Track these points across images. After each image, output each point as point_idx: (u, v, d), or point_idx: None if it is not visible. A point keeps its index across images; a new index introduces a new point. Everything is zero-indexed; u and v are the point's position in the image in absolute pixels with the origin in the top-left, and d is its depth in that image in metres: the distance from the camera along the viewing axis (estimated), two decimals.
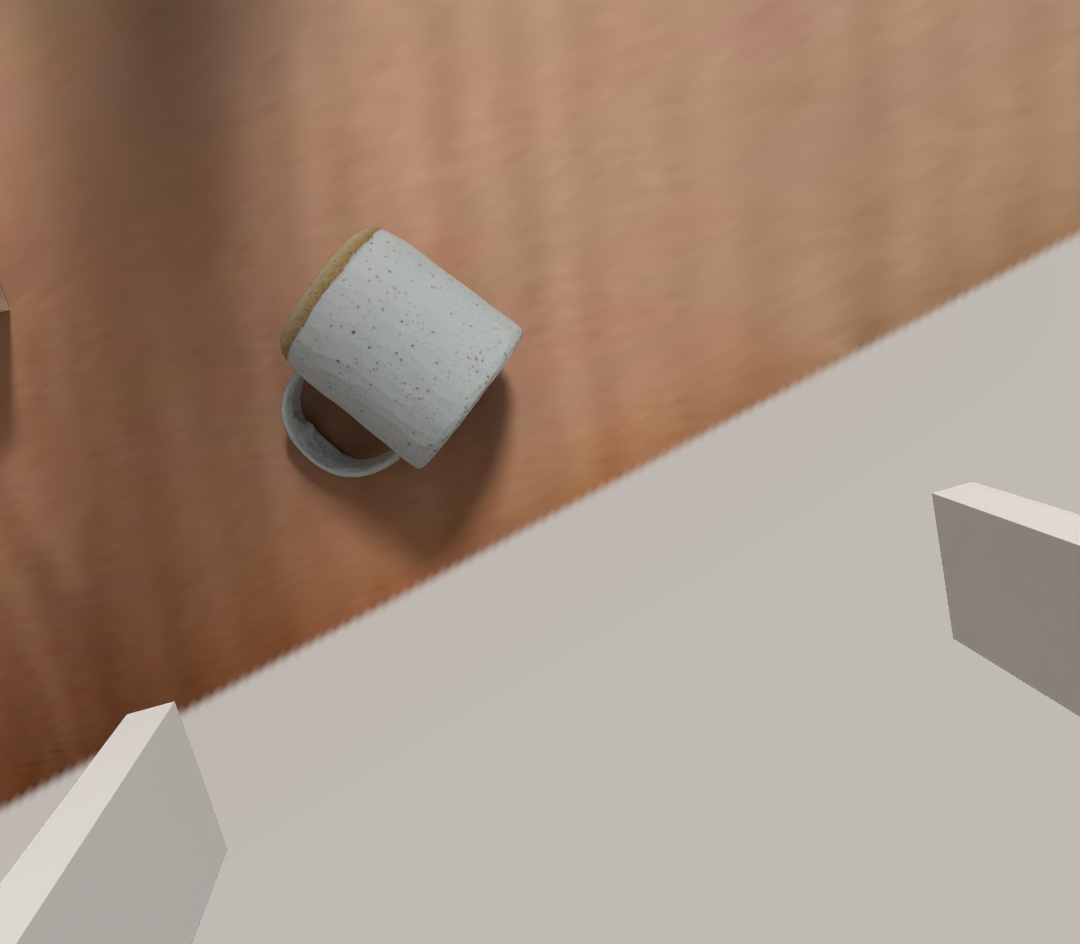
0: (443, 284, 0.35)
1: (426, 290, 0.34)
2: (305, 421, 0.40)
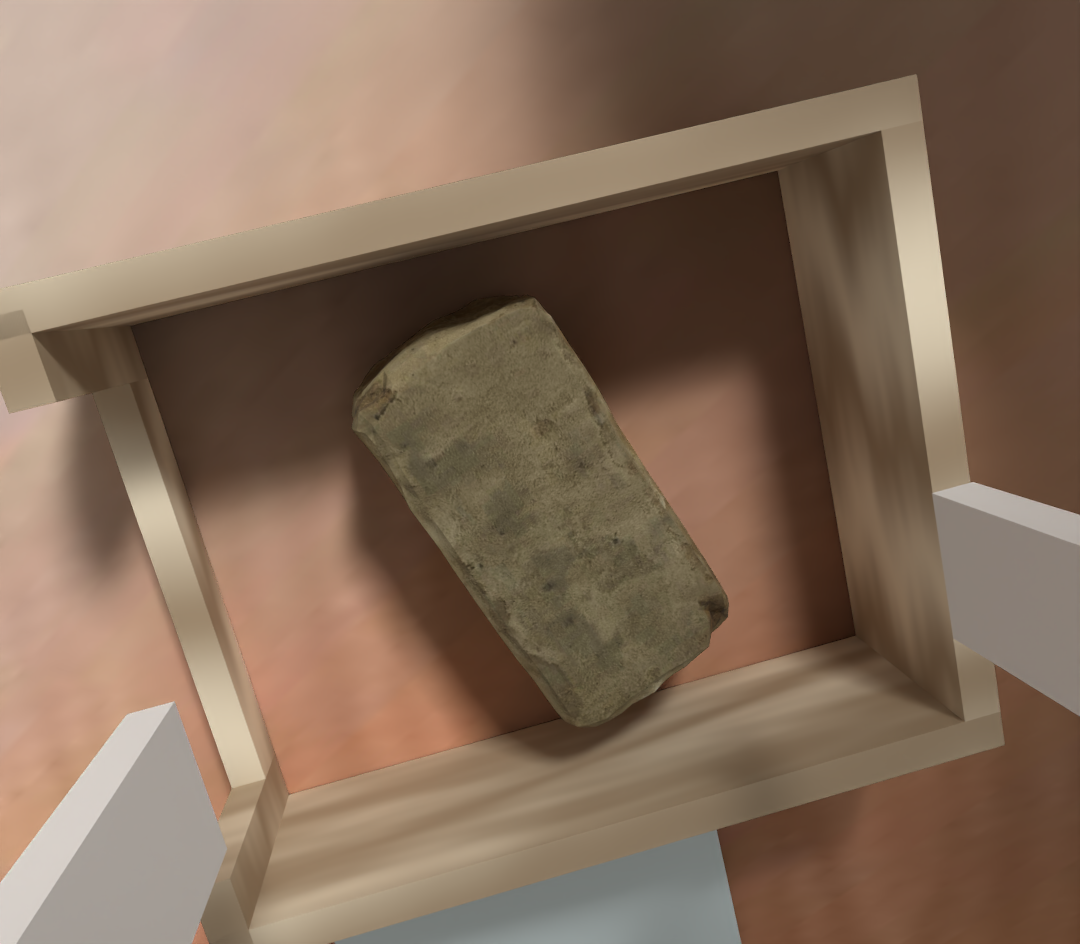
0: None
1: None
2: None
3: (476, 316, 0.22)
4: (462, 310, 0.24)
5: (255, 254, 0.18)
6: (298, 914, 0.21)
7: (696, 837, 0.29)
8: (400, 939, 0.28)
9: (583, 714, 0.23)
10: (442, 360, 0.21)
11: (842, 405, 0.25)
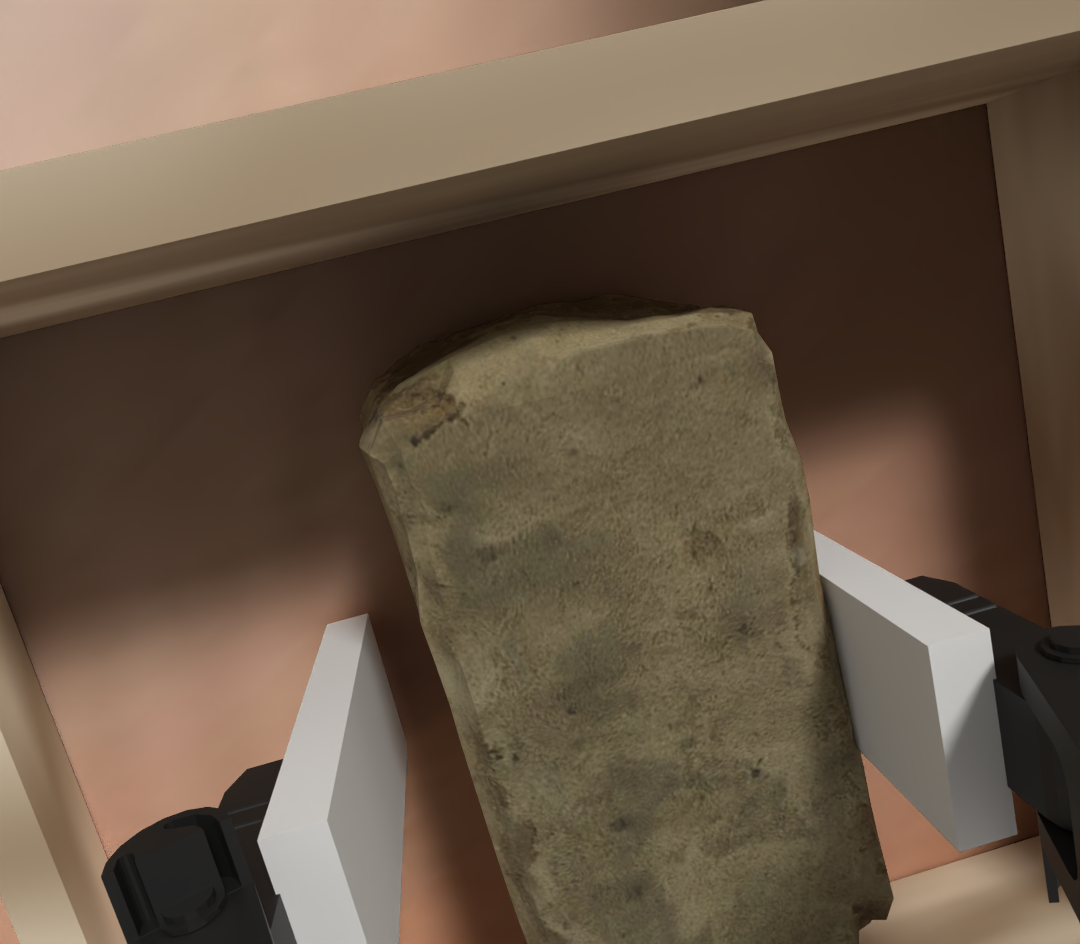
0: None
1: None
2: None
3: (629, 316, 0.12)
4: (589, 302, 0.14)
5: (46, 215, 0.08)
6: None
7: None
8: None
9: None
10: (565, 373, 0.11)
11: None
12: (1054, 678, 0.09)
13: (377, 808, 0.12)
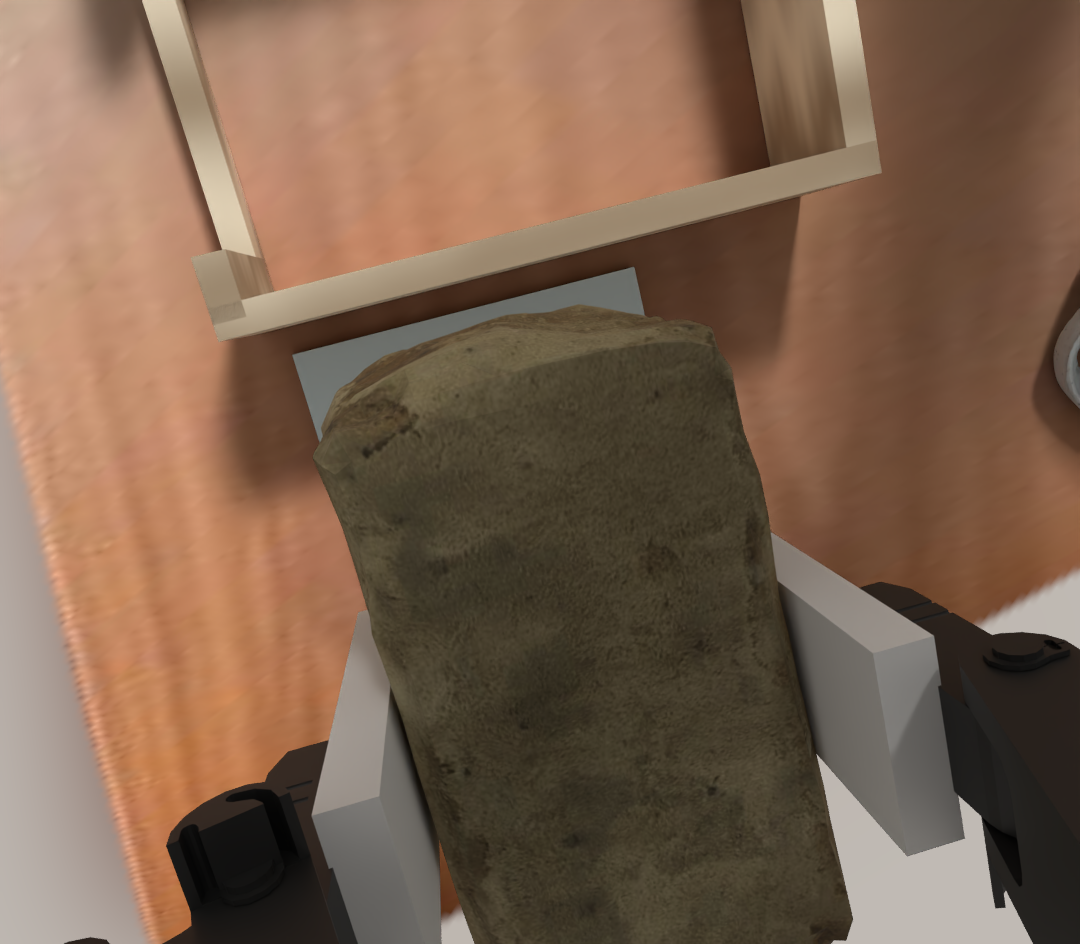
0: None
1: None
2: None
3: (590, 328, 0.12)
4: (556, 313, 0.14)
5: None
6: None
7: None
8: None
9: None
10: (519, 385, 0.11)
11: None
12: (995, 686, 0.09)
13: (416, 789, 0.12)
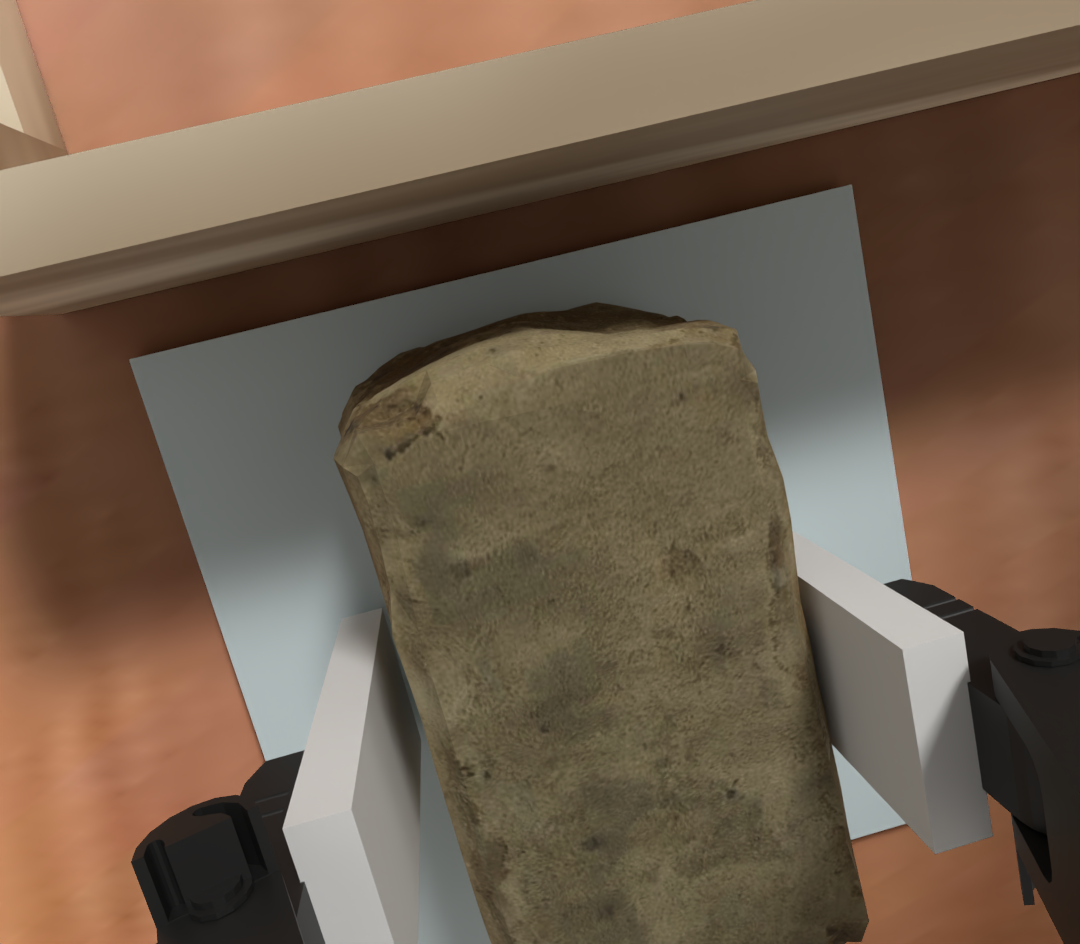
0: None
1: None
2: None
3: (612, 328, 0.12)
4: (574, 311, 0.14)
5: None
6: None
7: (842, 373, 0.16)
8: (312, 539, 0.15)
9: None
10: (543, 387, 0.11)
11: None
12: (1027, 681, 0.09)
13: (395, 799, 0.12)
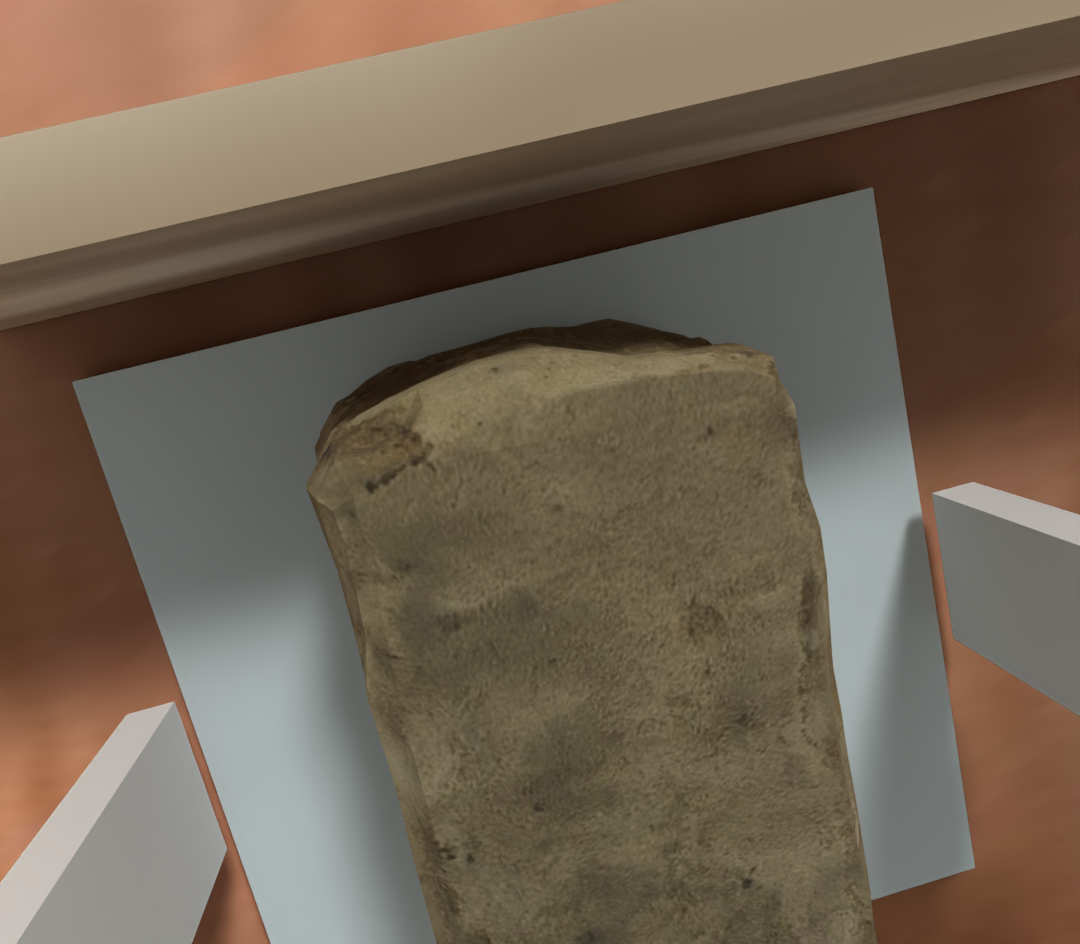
0: None
1: None
2: None
3: (630, 349, 0.11)
4: (585, 328, 0.13)
5: None
6: None
7: (862, 394, 0.15)
8: (279, 580, 0.14)
9: None
10: (552, 415, 0.09)
11: None
12: None
13: None
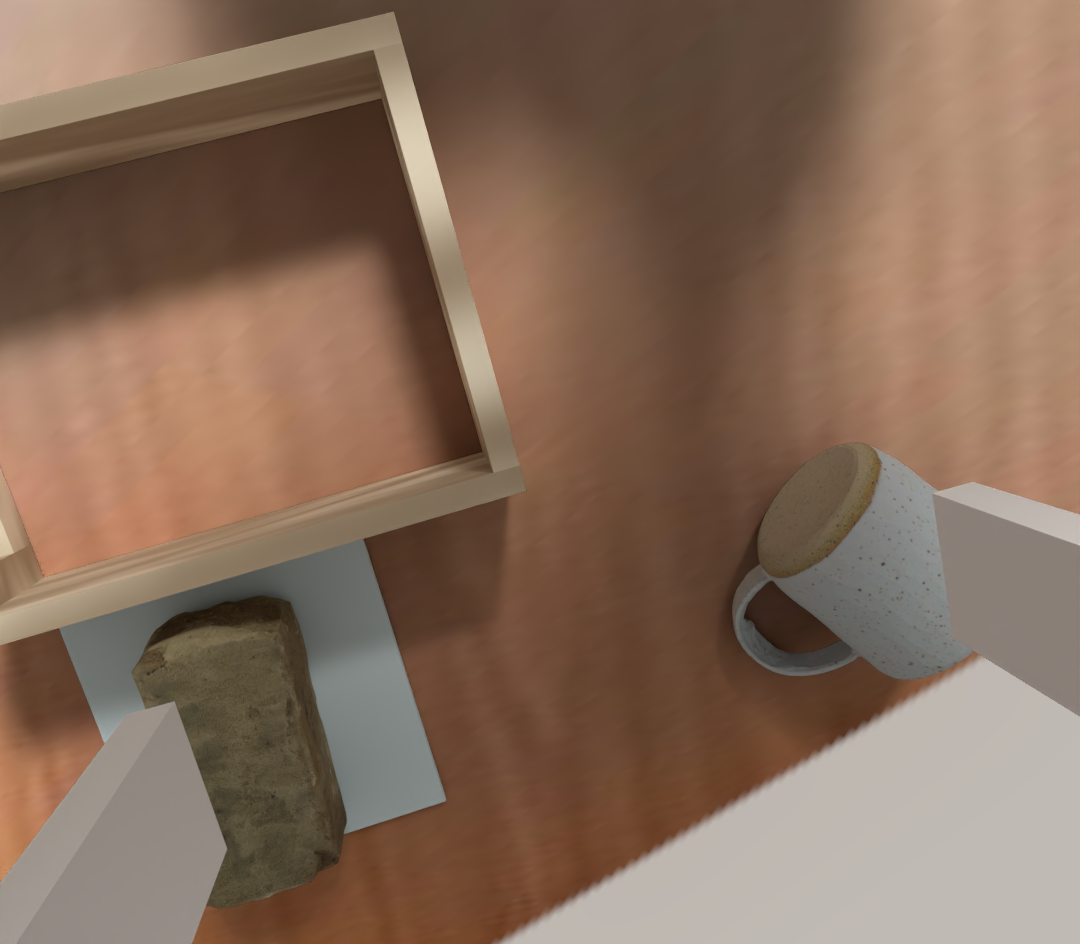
0: None
1: None
2: (745, 619, 0.40)
3: (244, 623, 0.34)
4: (247, 603, 0.35)
5: None
6: (6, 614, 0.30)
7: (368, 611, 0.38)
8: (137, 693, 0.37)
9: (211, 899, 0.34)
10: (203, 653, 0.32)
11: (430, 264, 0.34)
12: None
13: None
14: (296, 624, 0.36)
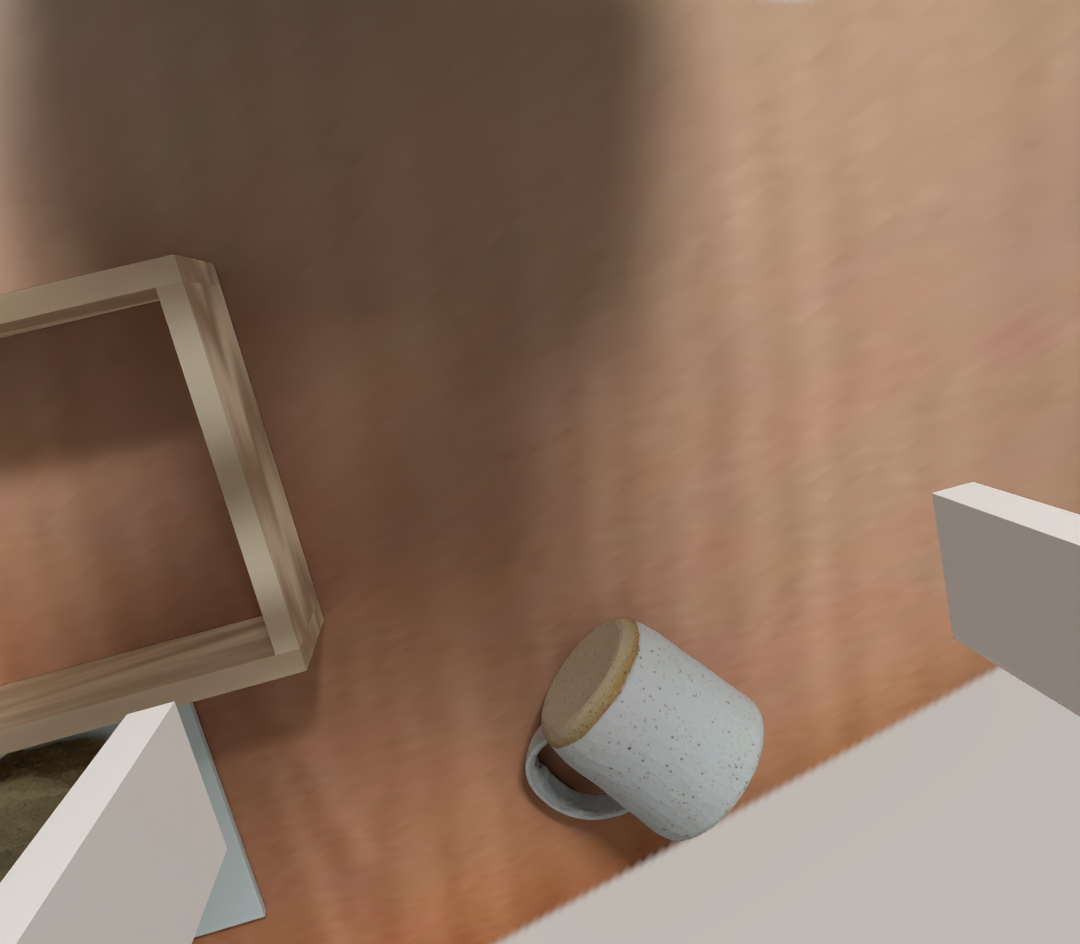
0: (700, 687, 0.38)
1: (690, 701, 0.37)
2: (540, 764, 0.43)
3: (65, 774, 0.37)
4: (76, 747, 0.39)
5: None
6: None
7: None
8: None
9: None
10: (19, 805, 0.36)
11: None
12: None
13: None
14: None
